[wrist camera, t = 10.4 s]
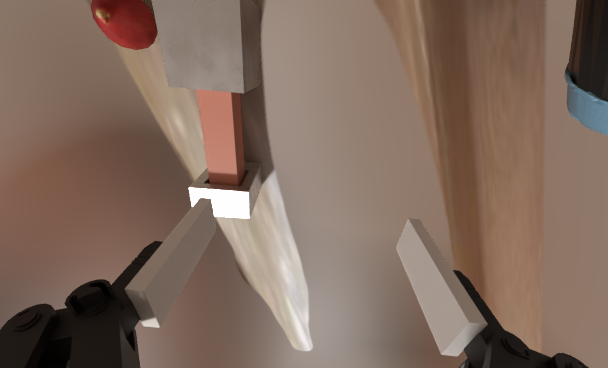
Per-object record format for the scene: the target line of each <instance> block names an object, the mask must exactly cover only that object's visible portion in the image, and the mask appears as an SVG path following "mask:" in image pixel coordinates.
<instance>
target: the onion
mask: <svg viewBox="0 0 608 368" xmlns="http://www.w3.org/2000/svg"><path fill="white" fill-rule="evenodd" d="M91 10H92V14H93V18H94V20H95V21H96V23H97V24H98V26H99V28H100V29H101V30H102V31H103V32H104V33H105V35H106V36H107V37H108V38H109V39H110V40H112V41H113V42H115V43H117V44H118V45H120V46H122V47H125V48H130V49H134V50H139V49H145V48H148V47H149V46H151V45H152V44H153V43H154V41H155V38H156V36H157V27H156V23H155V20H154V17H153V15H152V13H151V11H150V10H149V8H148V7H147V5H146V4H145V3H144V2H143V1H142V0H92V4H91Z"/></svg>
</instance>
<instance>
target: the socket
mask: <svg viewBox="0 0 608 368" xmlns="http://www.w3.org/2000/svg"><path fill="white" fill-rule="evenodd" d="M244 170H245V179H244V181H243V183H242V185H241V186H230V185H217V184H210V181H209V174H208V168H207V169H206V170H205V171H204V172H203V173H202V174H201V175H200V176H199V177H198V178H197V179H196V181H195V182H194V183H193V184H192V185H191V186H190V187H189V191H190V196H191V201H192V207H193V205H194V204H195V203H196V202H197V201H198V199H199V198H200V197H203V198H212V203H213V210H214V216H221V217H235V218H249V219H250V217H251V214H252V211H253V208H254V206H255V203H256V200H257V197H258V194H259V192H260V189H261V186H262V163H259V162H246V161H244Z"/></svg>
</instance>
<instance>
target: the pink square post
mask: <svg viewBox="0 0 608 368" xmlns="http://www.w3.org/2000/svg"><path fill="white" fill-rule="evenodd" d="M196 91H197V98H198V105H199V112H200V119H201V126H202V133H203V140H204V147H205V154H206V160H207V167H208V174H209V181H210V184H217V185H230V186H241V185H242V183H243V181H244V179H245V170H244V151H243V132H242V113H241V95H240V93H234V92H223V91H212V90H201V89H196Z"/></svg>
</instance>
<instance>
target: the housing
mask: <svg viewBox="0 0 608 368" xmlns="http://www.w3.org/2000/svg"><path fill="white" fill-rule="evenodd" d="M152 5H153V10H154V15H155V20H156V25H157V30H158V35H159V40H160V45H161V50H162V55H163V61H164V66H165V71H166V76H167V81H168V86H169V87H178V88H190V89H201V90H212V91H223V92H234V93H246V92H248V91H250V90H252V89H254V88H256V87H258V86H260V85H261V59H260V8H259V7H258V6H257V5H256V3H255V2H254V1H253V0H152Z"/></svg>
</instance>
